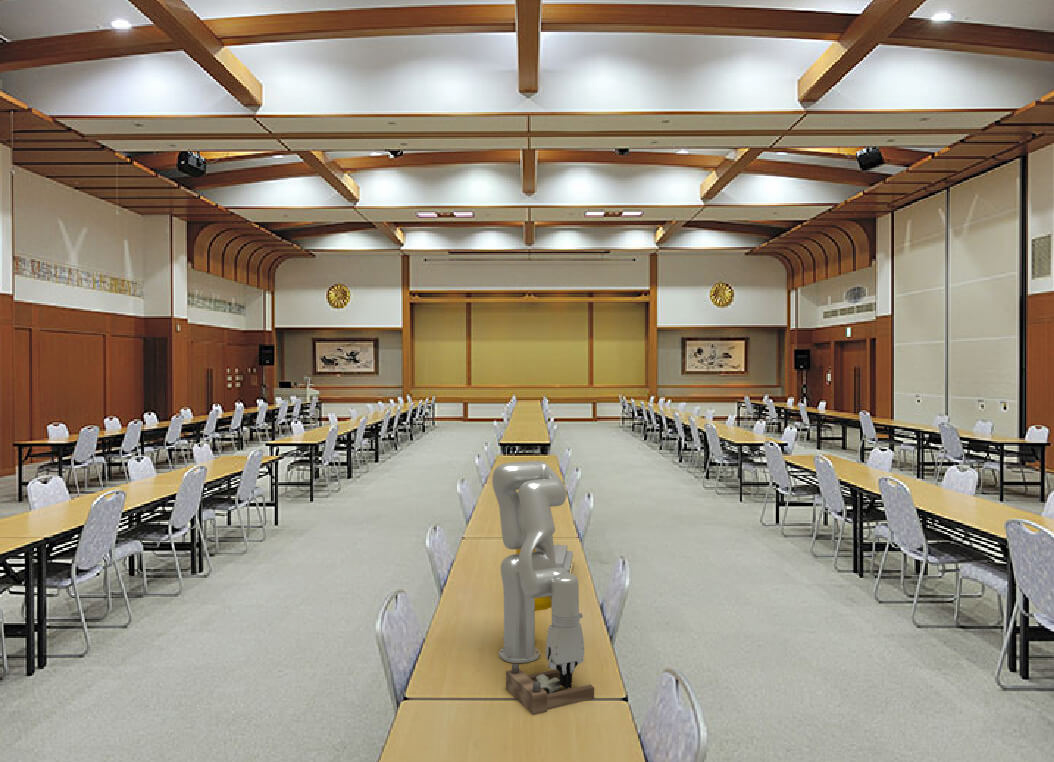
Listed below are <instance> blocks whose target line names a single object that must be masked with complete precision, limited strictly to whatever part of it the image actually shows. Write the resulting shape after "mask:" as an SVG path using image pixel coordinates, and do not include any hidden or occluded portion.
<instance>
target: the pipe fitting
mask: <svg viewBox="0 0 1054 762" xmlns="http://www.w3.org/2000/svg"><path fill="white" fill-rule="evenodd" d="M536 682H540V687H541V688H542V689H544V690H545V691H546V692H547V694H550V693H555V692H558V691H559V690H560V689H561V687H562V686H561V684H560V680H559V679H558V678H552V679H550V680H549V679H548V677H547V676H545V675H544V674H541V675H539V676H537V677H536Z"/></svg>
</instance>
